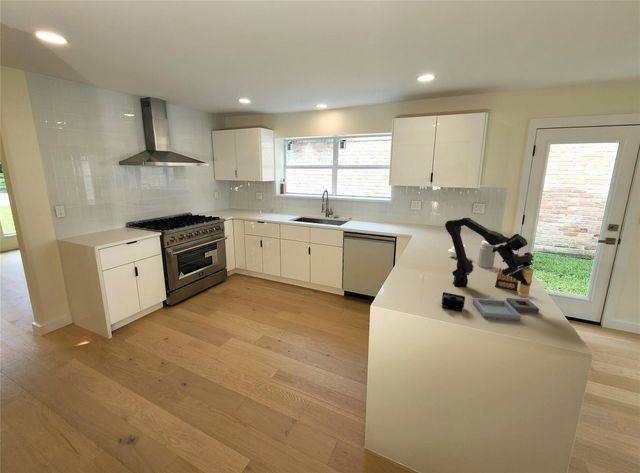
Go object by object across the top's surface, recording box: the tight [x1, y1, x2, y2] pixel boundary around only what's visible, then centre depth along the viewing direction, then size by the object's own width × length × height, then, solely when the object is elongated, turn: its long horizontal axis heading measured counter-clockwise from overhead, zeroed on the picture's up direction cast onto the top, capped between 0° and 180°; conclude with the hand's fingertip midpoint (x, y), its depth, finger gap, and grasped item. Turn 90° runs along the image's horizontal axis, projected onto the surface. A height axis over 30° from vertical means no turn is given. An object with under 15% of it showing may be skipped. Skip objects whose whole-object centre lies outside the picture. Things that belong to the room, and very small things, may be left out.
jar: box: [477, 239, 496, 269], centre depth 199 cm, size 10×10×18 cm
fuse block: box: [506, 297, 540, 314], centre depth 141 cm, size 10×10×2 cm
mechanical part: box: [448, 244, 467, 258], centre depth 220 cm, size 11×12×12 cm
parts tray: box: [472, 297, 522, 322], centre depth 137 cm, size 15×15×3 cm
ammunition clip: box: [494, 267, 519, 292], centre depth 162 cm, size 11×2×12 cm, turn 57°
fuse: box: [517, 267, 534, 299], centre depth 138 cm, size 4×4×14 cm
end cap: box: [441, 291, 466, 313], centre depth 140 cm, size 10×7×7 cm
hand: (528, 283), depth 137 cm, fingers closed on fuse, 4 cm apart
